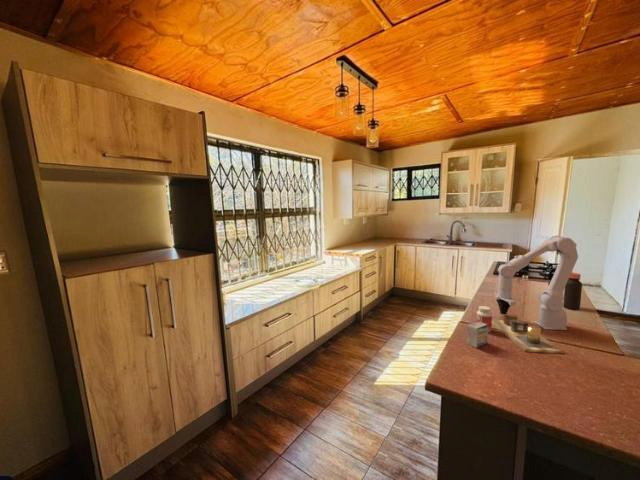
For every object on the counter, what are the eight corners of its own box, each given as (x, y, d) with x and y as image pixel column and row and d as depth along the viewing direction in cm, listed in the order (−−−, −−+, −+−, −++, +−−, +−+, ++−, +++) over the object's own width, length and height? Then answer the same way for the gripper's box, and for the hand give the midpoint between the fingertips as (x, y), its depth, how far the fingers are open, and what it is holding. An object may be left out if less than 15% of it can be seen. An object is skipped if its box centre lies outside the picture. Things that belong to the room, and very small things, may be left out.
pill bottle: (493, 330, 124) (494, 307, 123) (487, 333, 121) (488, 311, 119) (479, 325, 129) (480, 304, 128) (473, 329, 126) (474, 307, 124)
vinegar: (566, 309, 145) (569, 274, 143) (560, 305, 151) (563, 272, 149) (582, 311, 142) (585, 275, 140) (576, 306, 149) (579, 272, 146)
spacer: (536, 339, 112) (536, 325, 112) (542, 344, 108) (543, 330, 107) (524, 338, 113) (525, 325, 113) (530, 343, 109) (531, 329, 108)
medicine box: (476, 348, 109) (477, 328, 108) (466, 343, 113) (466, 324, 112) (487, 343, 112) (488, 324, 111) (477, 339, 116) (478, 320, 115)
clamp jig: (519, 322, 131) (520, 312, 130) (563, 353, 103) (564, 340, 103) (489, 321, 133) (490, 312, 132) (524, 351, 105) (525, 339, 105)
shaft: (514, 323, 128) (514, 315, 127) (526, 331, 119) (526, 323, 118) (503, 322, 128) (503, 315, 128) (514, 331, 120) (514, 322, 119)
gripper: (489, 283, 139) (487, 308, 140) (504, 292, 125) (502, 319, 126) (503, 284, 138) (502, 308, 139) (520, 292, 124) (518, 320, 125)
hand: (503, 313), depth 133 cm, fingers closed
